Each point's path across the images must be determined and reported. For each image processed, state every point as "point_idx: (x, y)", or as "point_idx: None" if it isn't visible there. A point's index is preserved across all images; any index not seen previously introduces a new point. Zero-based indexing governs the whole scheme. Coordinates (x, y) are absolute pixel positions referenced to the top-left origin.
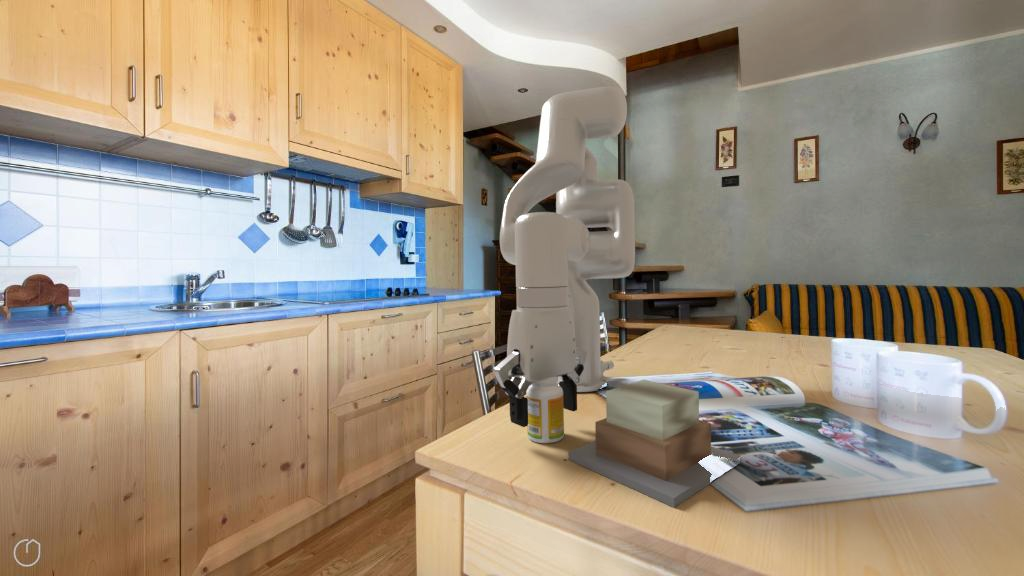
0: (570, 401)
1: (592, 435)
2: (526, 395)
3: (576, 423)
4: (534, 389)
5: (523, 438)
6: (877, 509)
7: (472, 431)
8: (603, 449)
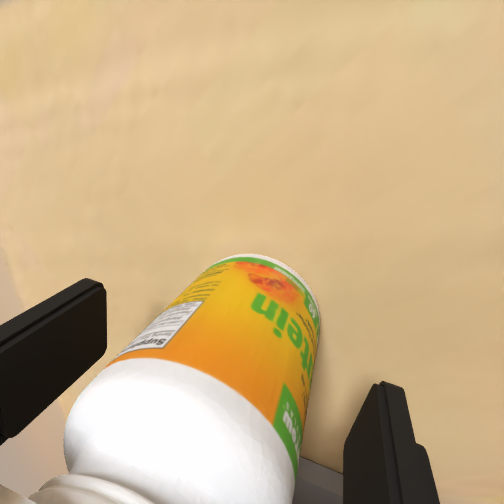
0: (348, 477)
1: None
2: (103, 369)
3: (449, 356)
4: (69, 466)
5: (201, 253)
6: None
7: (118, 25)
8: None
